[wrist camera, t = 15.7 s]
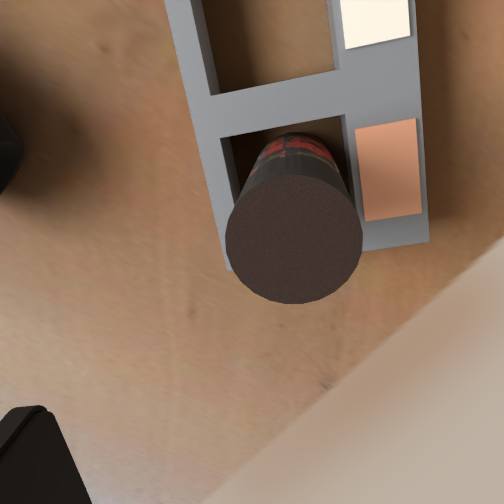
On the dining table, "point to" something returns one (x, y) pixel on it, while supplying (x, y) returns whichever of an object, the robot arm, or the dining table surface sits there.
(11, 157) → the portable speaker
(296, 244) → the deodorant
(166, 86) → the dining table surface
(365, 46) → the socket board
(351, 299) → the dining table surface
